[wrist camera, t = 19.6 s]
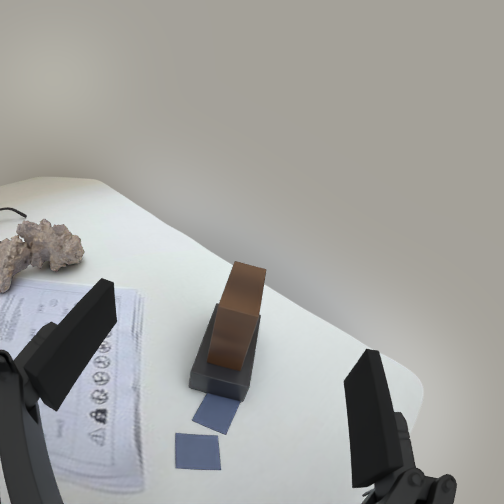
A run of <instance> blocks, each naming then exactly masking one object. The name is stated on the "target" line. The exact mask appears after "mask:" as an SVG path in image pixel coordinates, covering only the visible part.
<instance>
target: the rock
mask: <svg viewBox="0 0 504 504" xmlns="http://www.w3.org/2000/svg"><path fill="white" fill-rule="evenodd" d="M40 222H41V223H40V224H39V225H38V224H36V223H34V222H29V221H23V223H22V224H18V226H17V231H16V232H17V234H18V235H17V236H16V235H15V236H14V237H12V238H11V239H12V241H10V240H8V239H7V238H6V239H5V240H3V241H2V242H1V243H0V292H2V293H4V292H6V290H8V289H9V287H10V285H11V279H12V277H13V276H14V275H15V274H16V273H18V272H19V271H21V270H24V269H26V268H27V266H28V265H29V264H31V265H32V266H33V267H34V266H37V267H39V268H41V267H42V265H43V263H44V262H45V261H50V267H51V270H53V271H55V272H57V271H59V270H58V269H59V268H61V266H62V267H66V264H68V265H70V264H76V263H77V264H79V263H80V260H82V256H83V254H84V250H83V247H82V246H81V239H80V238H79V237H78V236H77V235H72V233H71V232H69V230H68V228H67V227H66V226H65V225H64V224H63V225H57V226H56V225H54V227H51V223H50V222H48V221H47V220H46V219H43V220H42V221H40ZM19 236H21V237H23V238H24V241H25V242H22V240H21V239H19Z"/></svg>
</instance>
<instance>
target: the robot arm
mask: <svg viewBox="0 0 504 504" xmlns="http://www.w3.org/2000/svg"><path fill="white" fill-rule="evenodd" d="M116 322H117V317H116V306H115V294H114V282H111V281H108V280H106V279H103V278H101V279H100V280H99V281H98V282H97V283H96V284H95V285H94V286H93V288H92V289H91V290H90V291H89V292H88V293H87V294H86V295H85V296H84V297H83V298H82V299H81V300H80V301H79V302H78V303H77V304H76V306H75V307H74V308H73V309H72V310H71V311H70V312H69V313H68V314H67V315H66V317H65V318H64V319H63V320H62V321H61V322H60V323H59V324H58V325H57V324H55V323H53V322H50V323H48V324H47V325H45V326H43V327H42V328H41V329H40V330H39V331H38V332H37V334H36V335H35V336H34V337H33V338H32V339H31V341H30V342H29V343H28V344H27V345H26V346H25V347H24V349H23V350H22V351H21V352H20V353H19V355H18V356H17V357H16V358H15V360H14V361H13V359H12V357H11V356H10V354H9V353H8V352H7V351H5V350H0V458H1V464H2V469H3V473H4V478H5V482H6V486H7V490H8V494H9V498H10V501H11V504H64V503H63V501H62V498H61V495H60V492H59V489H58V486H57V483H56V480H55V477H54V474H53V470H52V467H51V463H50V459H49V456H48V452H47V447H46V443H45V438H44V434H43V429H42V423H41V417H40V411H39V405H38V402H37V401H38V400H39V398H41V399H42V401H43V403H44V404H46V405H47V406H49V407H50V408H52V409H53V410H55V411H58V409H59V407H60V406H61V404H62V402H63V401H64V399H65V398H66V396H67V394H68V393H69V391H70V390H71V388H72V387H73V385H74V383H75V382H76V380H77V379H78V377H79V376H80V374H81V373H82V371H83V370H84V368H85V367H86V365H87V364H88V362H89V361H90V359H91V358H92V356H93V355H94V354H95V352H96V351H97V349H98V348H99V346H100V345H101V343H102V342H103V341H104V339H105V338H106V336H107V335H108V334H109V332H110V331H111V329H112V328H113V327H114V325H115V324H116ZM344 388H345V397H346V406H347V416H348V426H349V438H350V451H351V468H352V488H361V487H368V486H370V485H372V484H374V485H375V488H374V489H372V490H370V491H368V492H366V493H364V494H363V495H362V496H363V497H364V496H366V495H368V494H369V495H368V496H367V497H366V498H365V500H364V501H363V502H362V503H361V504H453V503H454V498H455V493H456V488H457V483H456V480H455V479H454V477H453V476H451V475H449V474H446V475H443V476H441V477H440V478H433V477H428V476H425V475H424V473H423V472H422V471H421V470H420V469H418V468H416V466H415V462H414V456H413V451H412V446H411V441H410V439H409V438H410V436H409V432H408V426H407V422H406V420H405V418H404V416H403V415H402V413H401V412H394V410H393V405H392V401H391V397H390V392H389V388H388V384H387V380H386V376H385V372H384V368H383V365H382V361H381V357H380V354H379V351H376V350H370V349H366V350H365V352H364V353H363V355H362V356H361V357H360V359H359V360H358V362H357V363H356V365H355V366H354V368H353V369H352V370H351V372H350V373H349V374H348V376H347V377H346V379H345V380H344ZM0 504H1V500H0Z"/></svg>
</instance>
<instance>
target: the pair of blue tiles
mask: <svg viewBox="0 0 504 504" xmlns="http://www.w3.org/2000/svg"><path fill="white" fill-rule="evenodd" d="M239 404H240V401H237V400H233V399H229V398H225V397H221V396H217V395H214V394H210V393H207V394H206V396H205V398H204V400H203V401H202V403H201V405H200V407H199V408H198V410H197V412H196V414H195V416H194V417H193V419H192V421H194V422H197V423H199V424H201V425H203V426H206V427H208V428H210V429H213V430H215V431H218V432H220V433H223V434H225V435H226V433H227V431H228V428H229V426H230V424H231V422H232V420H233V417H234V415H235V413H236V411H237V408H238V406H239ZM175 449H176V468H184V469H203V470H221V464H220V454H219V443H218V436H216V435H195V434H181V433H176V440H175Z"/></svg>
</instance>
